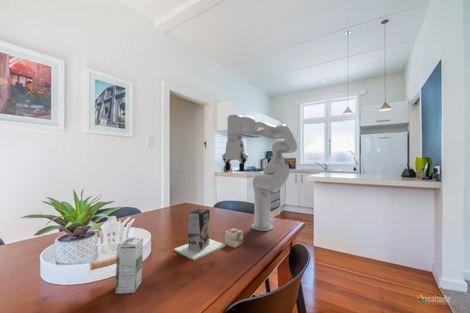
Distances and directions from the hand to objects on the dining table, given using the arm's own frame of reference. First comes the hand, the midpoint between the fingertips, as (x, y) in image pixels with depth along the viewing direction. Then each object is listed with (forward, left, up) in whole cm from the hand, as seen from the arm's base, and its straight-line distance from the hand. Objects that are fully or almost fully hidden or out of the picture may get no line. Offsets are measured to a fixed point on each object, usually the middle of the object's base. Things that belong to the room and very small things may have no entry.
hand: (234, 170), depth 108 cm
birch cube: (+7, +6, -34) cm, 36 cm away
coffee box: (+22, -2, -34) cm, 40 cm away
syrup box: (+54, +4, -34) cm, 64 cm away
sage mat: (+21, -2, -34) cm, 40 cm away
